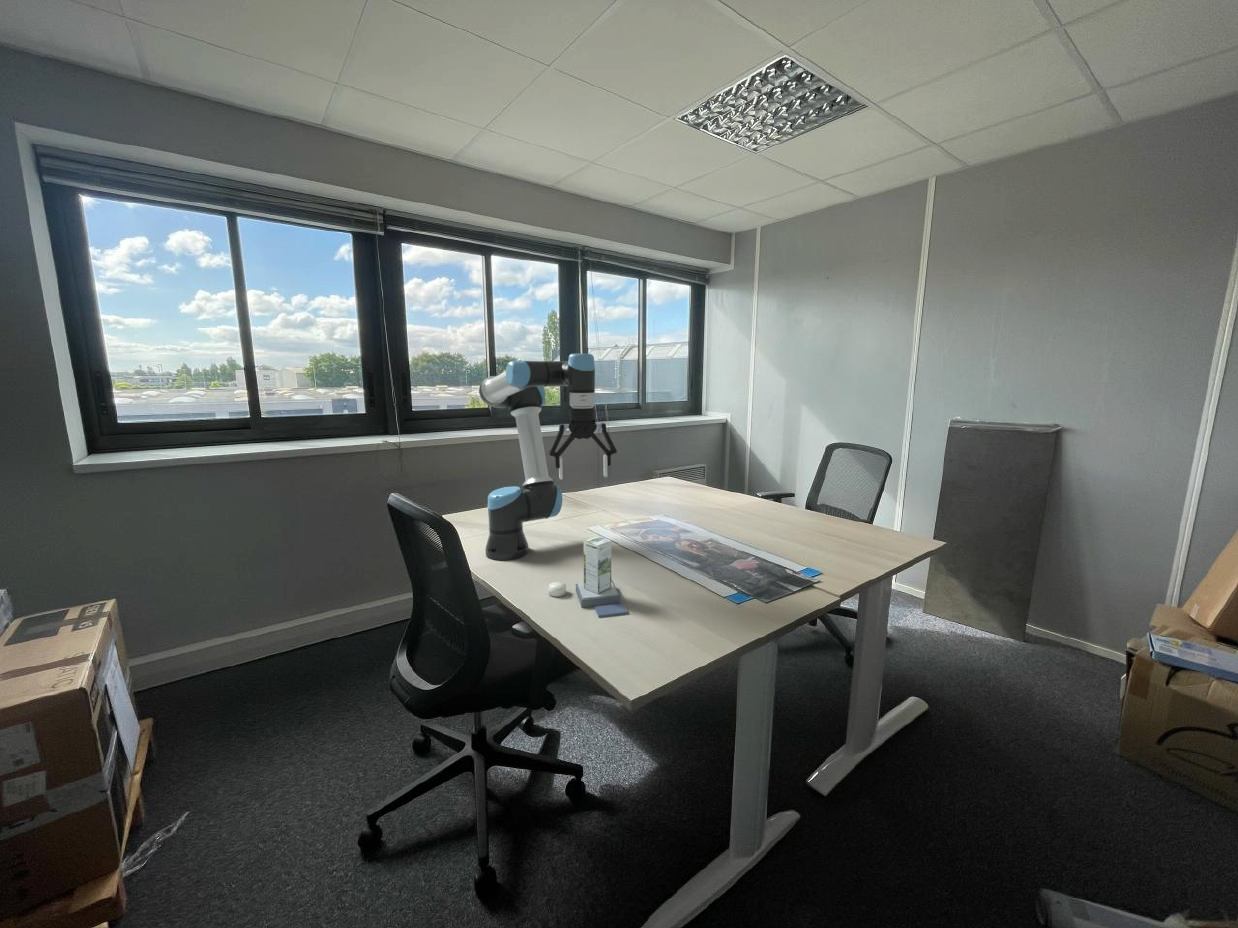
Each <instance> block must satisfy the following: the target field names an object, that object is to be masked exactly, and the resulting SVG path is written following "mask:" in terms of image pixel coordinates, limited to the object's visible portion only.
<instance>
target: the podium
mask: <svg viewBox="0 0 1238 928" xmlns="http://www.w3.org/2000/svg"><path fill="white" fill-rule="evenodd" d="M575 592H576V595H577V598H578V602H579V603H580V605H579V606H580V607H581V608H590V607H591V608H592V607H597V606H605V605H613V604H621V602H622V601H621V598H622V597H621V594H620V592H619V590H618V588H617V586H616V585H615V583H614V581H613V579H611V588H609V589H607V590H605V591H603V592H601V593H599V594H597V593H594V592H592V591H589V590H586V589H584V582H577V583H575Z"/></svg>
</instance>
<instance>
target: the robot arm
mask: <svg viewBox="0 0 1238 928" xmlns="http://www.w3.org/2000/svg"><path fill="white" fill-rule="evenodd" d="M505 368H506V369H505V371H503V372H502V373H500V374H498V375H491V376H488V377H486V378H485V379H483V381H481V382H480V385H479V388H478V392H479V396H480V399H481V401H483V402H484V404H485V405H488V406H489V407H492V408H496V409H509V412H510V415H511V416H513V417H514V418H515V423H516V429H517V430H516V431H517V435H518V442H519V446H520V453H521V461H522V465H523V466H522V467H523V472H524V473H523V474H524V477H525V478H524V479H525V481H524V482H523V483H522V489H521V487H519V486H516V485H514V486H504V487H500V488H497V489H494V490H492V491H491V492H490V493H489V494H488V495H487V512H488V513H487V514H488V526H489V527H488V529H489V534H488V538H487V541H486V545H485V556H486V557H487V558H488V559H491V560H497V561H508V560H515V559H519V558H522V557H524V556H525V555H528V553H529V547H530V546H529V543H528V541H527V540H528V539H527V538H526V535H525V533H524V529H523V525H524V523H526V522H532V521H538V520H545V519H549V518H553V517H556V516H558V515H559V514H560V512H561V509H562V507H563V492H562V490H561V488H560V486H559V485H557V484H555V482H554V480H553V478H551V477H550V476H549V469H548V465H547V459H546V453H545V447H544V446H545V445H544V441H543V440H544V439H543V434H542V428H541V422H540V418H539V417H540V416H539V414H540V413H541V411H542V407H543V406H544V405H545V403H546V391H545V388H544V387H569V388H568V394H569V396H568V397H569V403H568V404H569V406H570V407H571V408H569V423H568V424H563V423H559V425H558V432H557V434H556V436H555V438H554V440H553V442H552V444H551V447H550V448H549V451H548V454H549V456H551V457H554V464H555V467H556V469H558V473H559V474H558V475H559V477H558V478H559V480H560V481H561V480H563V479H564V476H563V474H564V473H563V468H564V467H563V457H562V456H561V455H562V454H564V452H565V451H566V450H567V448H568V447H569V446H570V445H571V444H572V442H573V441H574V440H575V439H578V440H581V439H582V440H583V439H585V440H589V439H590V438H591V439H593V441H594V442H595V443H596V444H597V445H598V447H599V448H600V449H601V450H602V451H603V452H604V454H603V456H602V465H603V468H602V469H603V472H602V473H603V477H604V478H608V467H609V466H610V467H611V465H612V463H611V462H612V461H611V460H612V459H611V458H612V455H613V454H617V452H618V451H617V448H616V446H615V445H614V442H613V440H612V439H611V437H610V435H609V432H608V431H607V426H606V425H607V424H606V423H604V422H600V423H596V409H595V407H594V406H596V388H595V387H596V383H595V381H596V378H595V377H596V375H595V374H596V366H595V356H594V355H593V354H592V353H571V354H569V356H568V360H567V361H566V360H563V361H562V360H560V361H559V360H557V361H556V360H555V361H554V360H551V361H549V360H537V361H535V360H512V361H509V362H508V363H507V366H506V367H505ZM597 429H598V430H599V431H601V433H602V435H603V438H604V439H605V441H606V443H607V445H608V448H609V449H608V448H607V447H606V445H605V444H604V443H603V442H602V441H601V440H600V439H599V438H598V436H597V435H596V434H595V431H596V430H597ZM567 430H569V432H571V433H570V434H569V435H568V437H567V438H566V439H565V441H564V442H563V444H562V443H561V446H560V447H559V448H558V446H559V444H560V441H561V439H562V438H563V435H564V433H565V432H566V431H567ZM557 448H558V449H557Z"/></svg>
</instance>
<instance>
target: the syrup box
mask: <svg viewBox="0 0 1238 928" xmlns="http://www.w3.org/2000/svg"><path fill="white" fill-rule="evenodd" d="M611 580H612V540H610V539H608V538H605V537H602V536H595V537H592V538H590V539H587V540H584V541H583V583H584V589H586V590H589V591H592V592H594V593H597V594H599V593H601V592H603V591H605V590H607V589H609V588H611Z"/></svg>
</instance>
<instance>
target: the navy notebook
mask: <svg viewBox="0 0 1238 928" xmlns="http://www.w3.org/2000/svg"><path fill="white" fill-rule="evenodd" d="M594 609H595V613H596V615H597V617H598V618H607V617H615V616H623V615H629V611H628V608H627V607H626V605H625V603H618V604H609V605H601V606H594Z"/></svg>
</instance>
